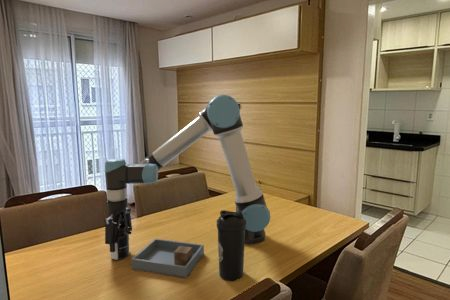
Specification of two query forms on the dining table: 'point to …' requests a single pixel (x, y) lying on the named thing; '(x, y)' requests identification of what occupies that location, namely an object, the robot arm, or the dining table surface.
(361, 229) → the dining table surface
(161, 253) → the tray
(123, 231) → the supplement bottle
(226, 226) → the water bottle
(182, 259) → the walnut cube
